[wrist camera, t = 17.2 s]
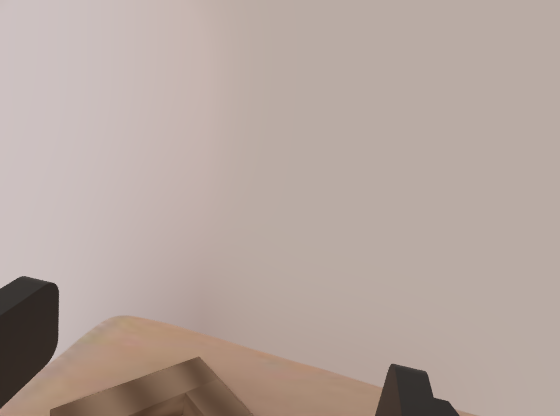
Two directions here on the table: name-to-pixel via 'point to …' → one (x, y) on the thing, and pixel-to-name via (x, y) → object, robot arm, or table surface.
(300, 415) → the table surface
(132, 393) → the socket stand
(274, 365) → the table surface
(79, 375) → the table surface
